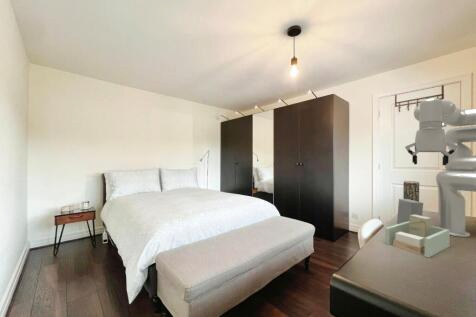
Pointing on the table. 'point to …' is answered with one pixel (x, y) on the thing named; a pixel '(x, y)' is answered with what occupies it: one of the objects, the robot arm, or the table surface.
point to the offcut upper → (409, 239)
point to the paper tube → (411, 190)
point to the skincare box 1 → (408, 209)
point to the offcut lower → (409, 247)
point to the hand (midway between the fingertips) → (429, 164)
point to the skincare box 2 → (420, 226)
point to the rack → (432, 243)
